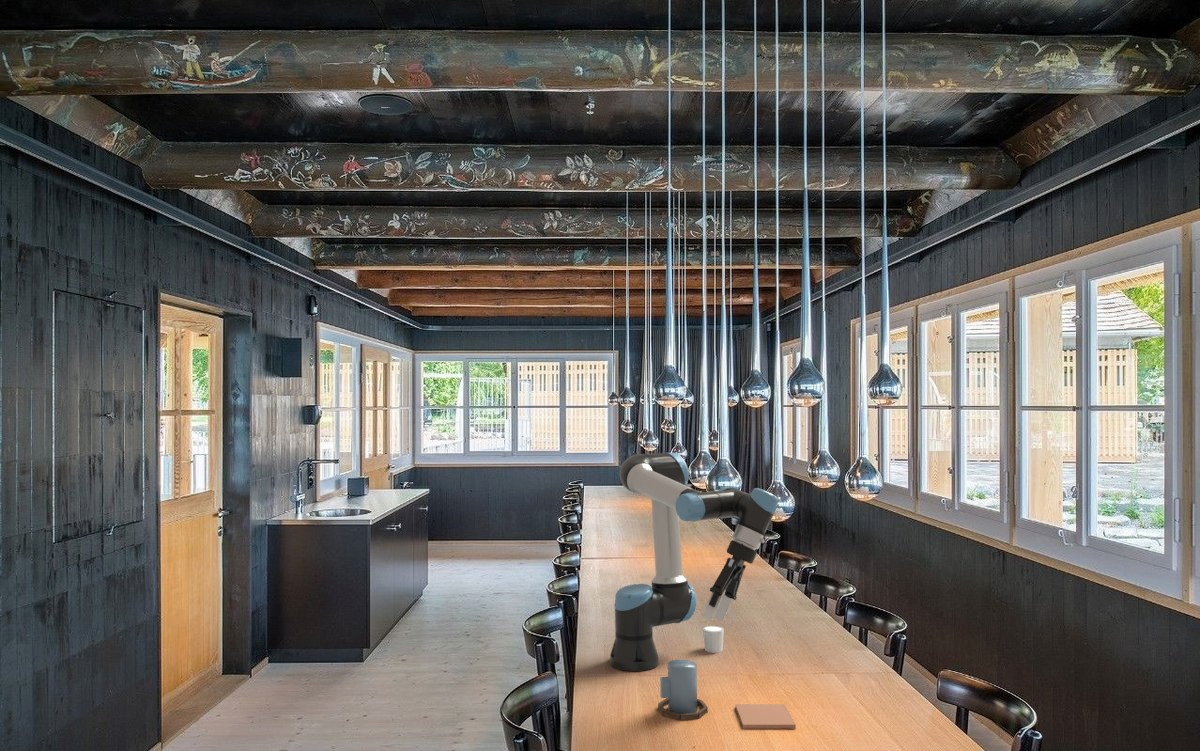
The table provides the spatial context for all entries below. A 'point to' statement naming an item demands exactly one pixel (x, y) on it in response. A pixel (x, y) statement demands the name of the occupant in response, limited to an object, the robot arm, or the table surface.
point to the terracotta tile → (764, 716)
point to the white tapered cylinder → (713, 638)
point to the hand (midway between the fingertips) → (712, 619)
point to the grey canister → (680, 686)
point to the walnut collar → (683, 716)
